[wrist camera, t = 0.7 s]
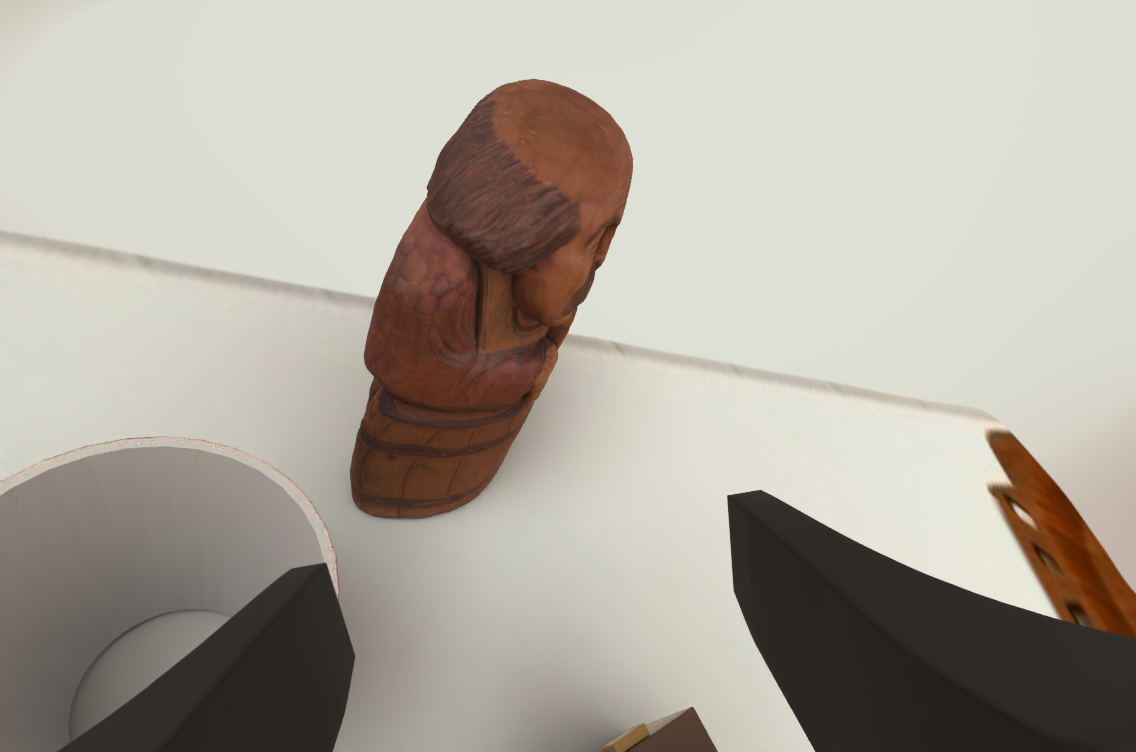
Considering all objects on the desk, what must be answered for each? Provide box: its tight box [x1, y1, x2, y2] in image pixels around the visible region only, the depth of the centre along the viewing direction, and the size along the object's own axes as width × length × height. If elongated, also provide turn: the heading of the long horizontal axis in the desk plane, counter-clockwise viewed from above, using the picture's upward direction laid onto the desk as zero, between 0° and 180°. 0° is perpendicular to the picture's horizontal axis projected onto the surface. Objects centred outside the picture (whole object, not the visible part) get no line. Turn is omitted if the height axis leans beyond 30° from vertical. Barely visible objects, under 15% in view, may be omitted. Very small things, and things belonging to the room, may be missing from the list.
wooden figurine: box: [350, 79, 633, 518], centre depth 25 cm, size 12×6×18 cm, turn 166°
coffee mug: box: [0, 437, 339, 752], centre depth 17 cm, size 12×9×10 cm
